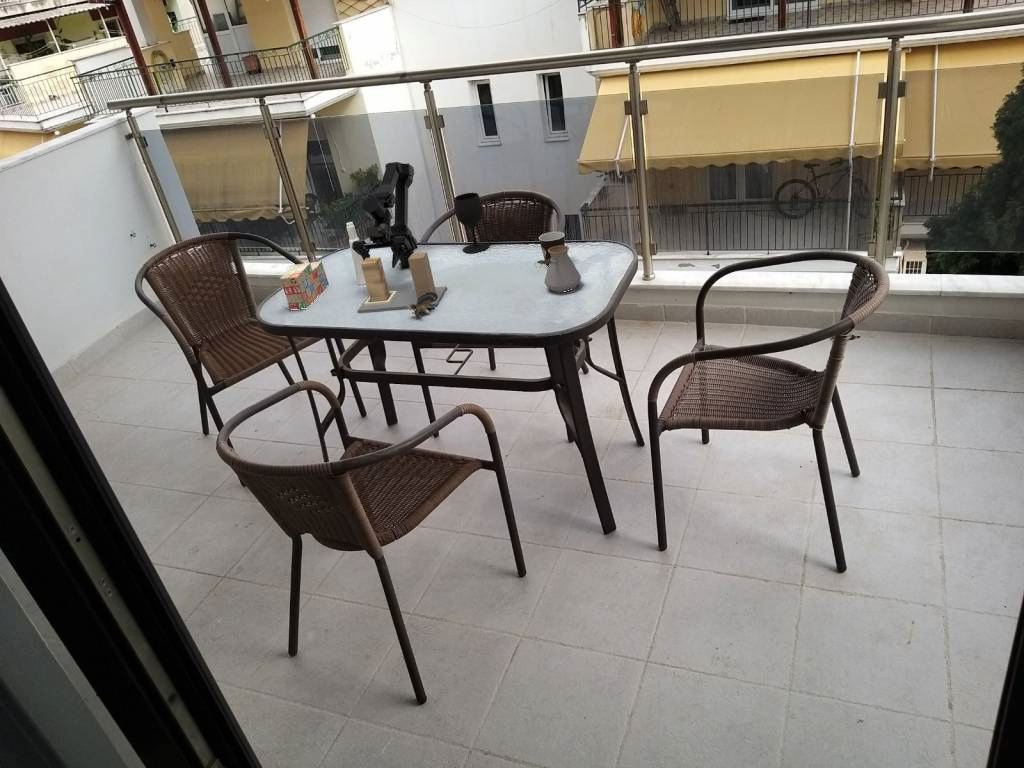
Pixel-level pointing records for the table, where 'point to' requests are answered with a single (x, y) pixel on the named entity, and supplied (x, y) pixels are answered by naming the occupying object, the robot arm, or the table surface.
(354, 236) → the cosmetic bottle
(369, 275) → the oak block
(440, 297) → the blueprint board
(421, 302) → the chipmunk figurine
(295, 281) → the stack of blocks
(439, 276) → the table surface
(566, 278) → the coffee pot
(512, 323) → the table surface
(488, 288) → the table surface
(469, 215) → the wine glass
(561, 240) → the coffee mug
